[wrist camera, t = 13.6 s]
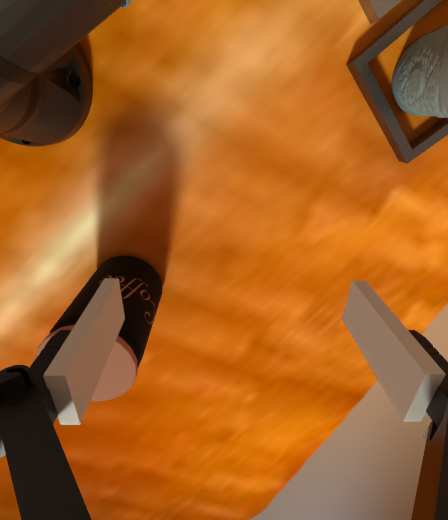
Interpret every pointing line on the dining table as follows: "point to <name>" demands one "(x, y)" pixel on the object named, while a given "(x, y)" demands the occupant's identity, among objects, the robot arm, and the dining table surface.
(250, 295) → the dining table surface
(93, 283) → the coffee jar
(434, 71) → the grey cup
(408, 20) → the square hollow frame
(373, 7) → the grey diamond-shaped open frame
